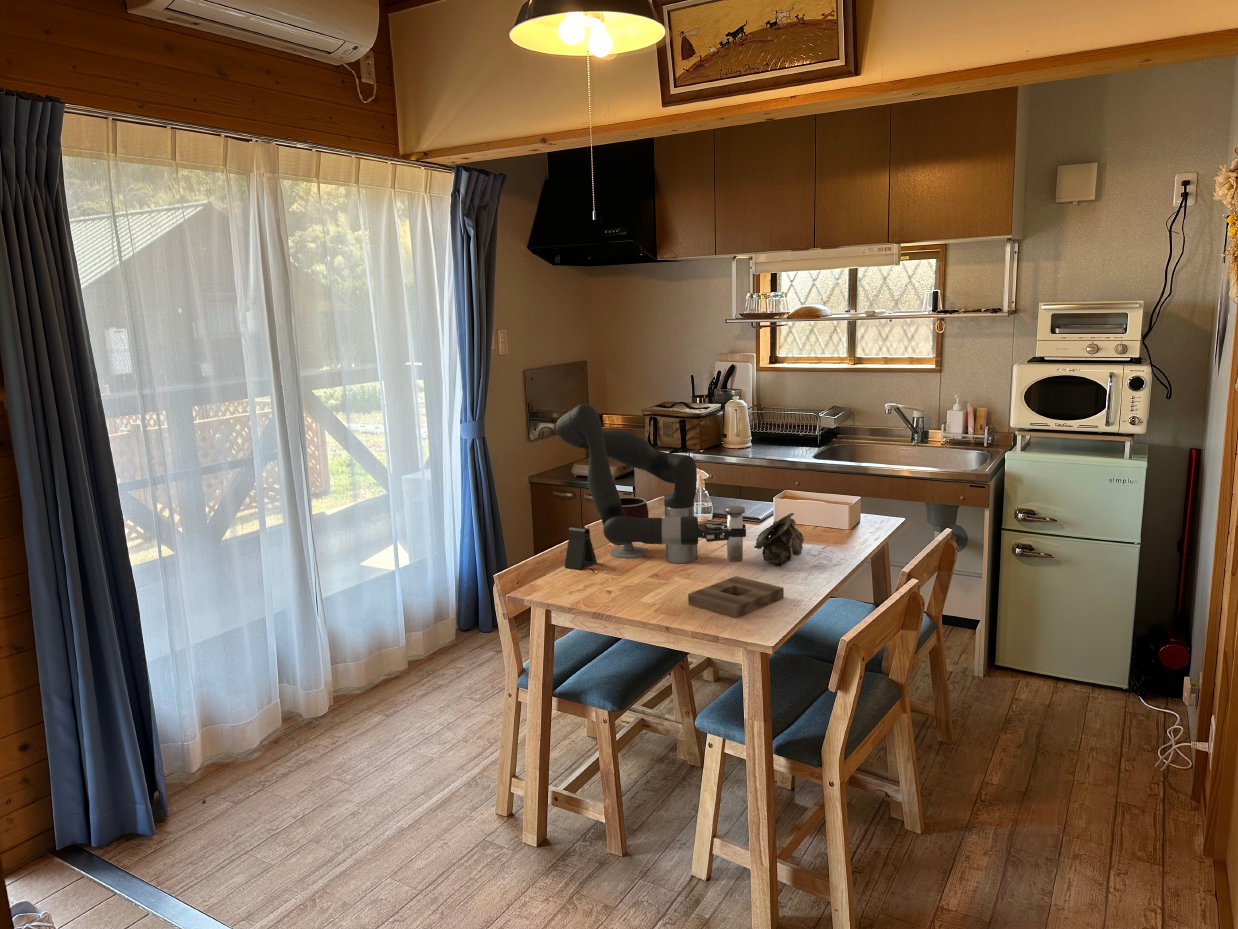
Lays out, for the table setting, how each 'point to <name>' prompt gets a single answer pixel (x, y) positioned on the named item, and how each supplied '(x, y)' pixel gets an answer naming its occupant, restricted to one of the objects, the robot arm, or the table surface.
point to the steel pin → (734, 542)
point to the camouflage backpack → (780, 541)
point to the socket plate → (735, 596)
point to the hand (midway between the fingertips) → (745, 530)
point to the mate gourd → (638, 510)
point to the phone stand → (579, 549)
